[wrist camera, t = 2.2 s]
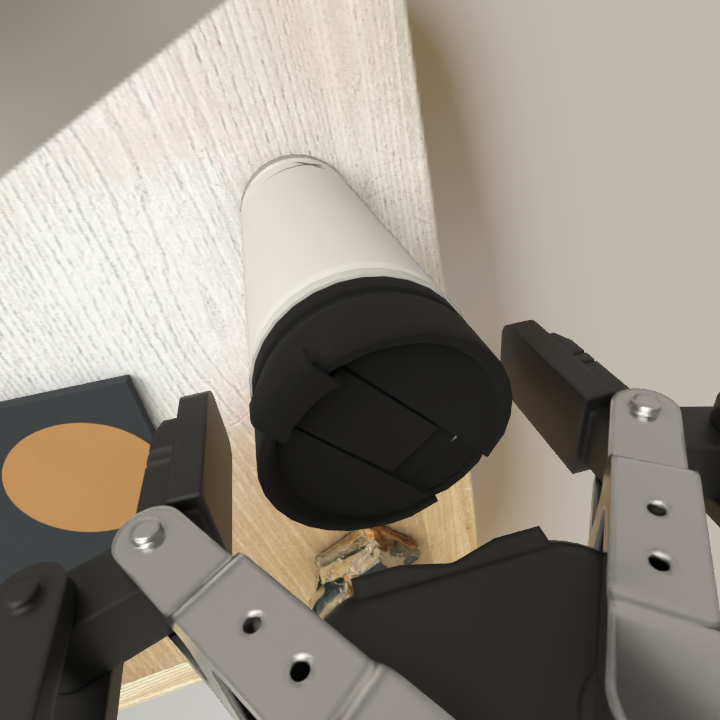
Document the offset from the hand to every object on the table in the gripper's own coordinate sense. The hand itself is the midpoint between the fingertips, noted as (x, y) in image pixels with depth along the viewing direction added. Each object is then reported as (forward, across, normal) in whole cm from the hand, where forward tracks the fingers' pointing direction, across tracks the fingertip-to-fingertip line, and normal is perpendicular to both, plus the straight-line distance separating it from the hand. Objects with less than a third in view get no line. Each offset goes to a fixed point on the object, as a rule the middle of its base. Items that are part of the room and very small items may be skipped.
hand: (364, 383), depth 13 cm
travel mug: (+17, 0, 0) cm, 17 cm away
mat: (+17, +20, +18) cm, 32 cm away
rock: (+17, 0, +32) cm, 36 cm away
